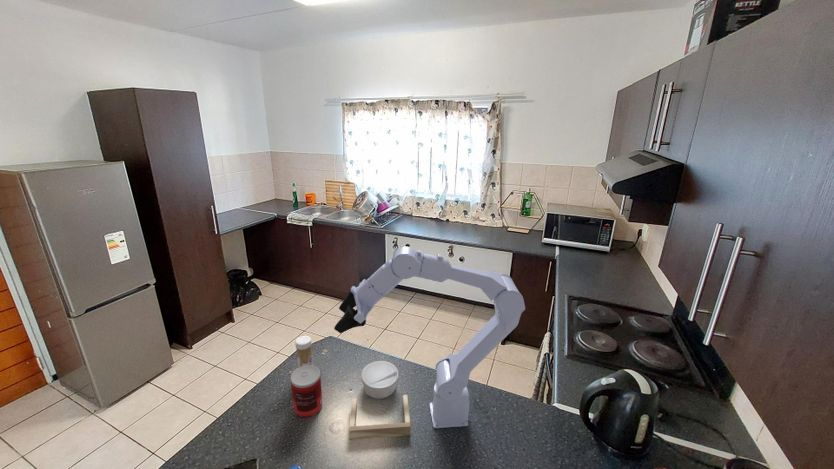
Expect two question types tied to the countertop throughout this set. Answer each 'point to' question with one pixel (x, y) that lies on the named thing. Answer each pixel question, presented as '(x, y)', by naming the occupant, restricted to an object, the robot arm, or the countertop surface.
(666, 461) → the countertop surface
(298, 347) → the sprinkles bottle
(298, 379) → the canned food
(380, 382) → the ramekin
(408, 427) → the birch dock
